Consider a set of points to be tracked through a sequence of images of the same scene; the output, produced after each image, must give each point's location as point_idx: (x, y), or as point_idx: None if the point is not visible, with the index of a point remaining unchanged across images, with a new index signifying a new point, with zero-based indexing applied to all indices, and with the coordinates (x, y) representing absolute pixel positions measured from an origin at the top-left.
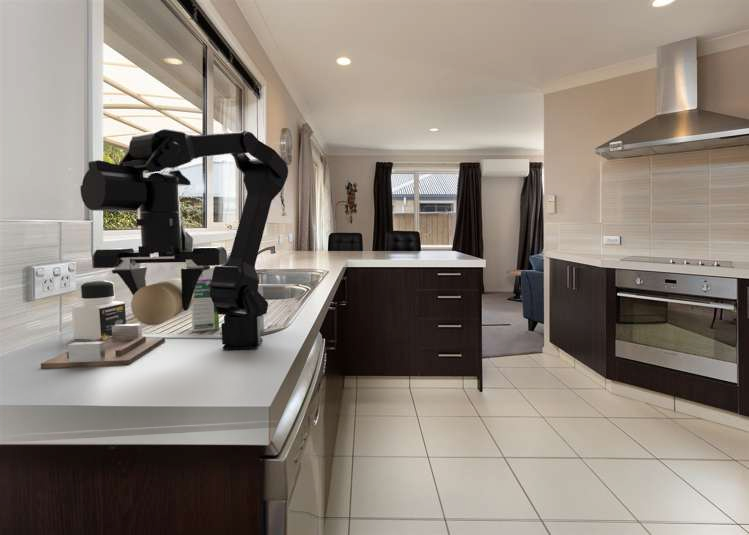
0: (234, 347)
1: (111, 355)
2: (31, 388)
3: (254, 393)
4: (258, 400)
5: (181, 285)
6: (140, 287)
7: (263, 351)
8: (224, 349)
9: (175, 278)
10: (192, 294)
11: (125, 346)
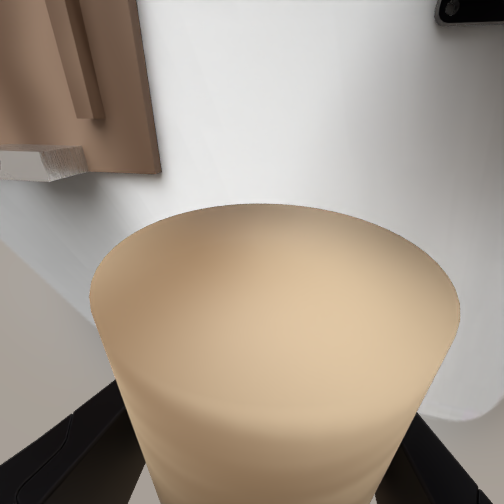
0: (493, 22)
1: (73, 109)
2: (80, 285)
3: (468, 389)
4: (468, 411)
5: (372, 495)
6: (112, 499)
7: None
8: (441, 25)
9: (252, 425)
10: (438, 447)
11: (71, 61)
